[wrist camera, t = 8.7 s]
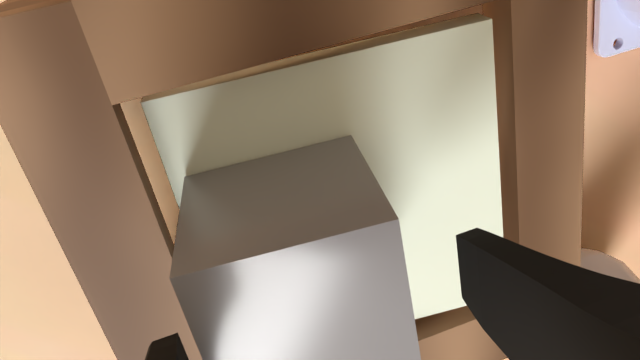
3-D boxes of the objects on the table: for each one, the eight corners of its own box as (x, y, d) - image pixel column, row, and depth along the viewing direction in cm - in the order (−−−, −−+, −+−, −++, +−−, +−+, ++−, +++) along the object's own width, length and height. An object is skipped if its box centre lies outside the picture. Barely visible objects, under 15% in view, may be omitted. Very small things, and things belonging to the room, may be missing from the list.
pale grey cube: (350, 135, 16) (399, 218, 12) (376, 269, 19) (424, 382, 14) (184, 176, 16) (169, 278, 12) (231, 308, 18) (233, 435, 14)
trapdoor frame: (457, -108, 21) (590, -124, 15) (482, 241, 28) (578, 329, 22) (16, -6, 18) (-47, 29, 12) (171, 353, 25) (181, 487, 19)
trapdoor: (477, 13, 16) (493, 19, 15) (494, 278, 21) (507, 296, 20) (145, 91, 16) (140, 103, 15) (236, 346, 20) (236, 368, 20)
